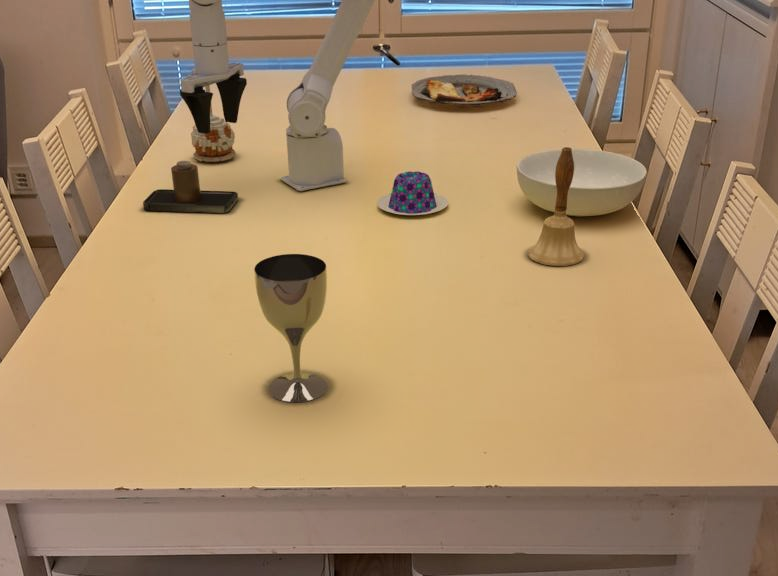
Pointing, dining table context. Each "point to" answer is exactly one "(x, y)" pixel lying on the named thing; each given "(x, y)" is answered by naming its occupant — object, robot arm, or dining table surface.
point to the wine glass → (293, 315)
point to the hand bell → (559, 223)
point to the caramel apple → (214, 140)
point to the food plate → (463, 90)
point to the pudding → (412, 196)
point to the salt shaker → (186, 182)
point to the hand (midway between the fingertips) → (217, 127)
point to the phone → (208, 203)
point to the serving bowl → (583, 181)
